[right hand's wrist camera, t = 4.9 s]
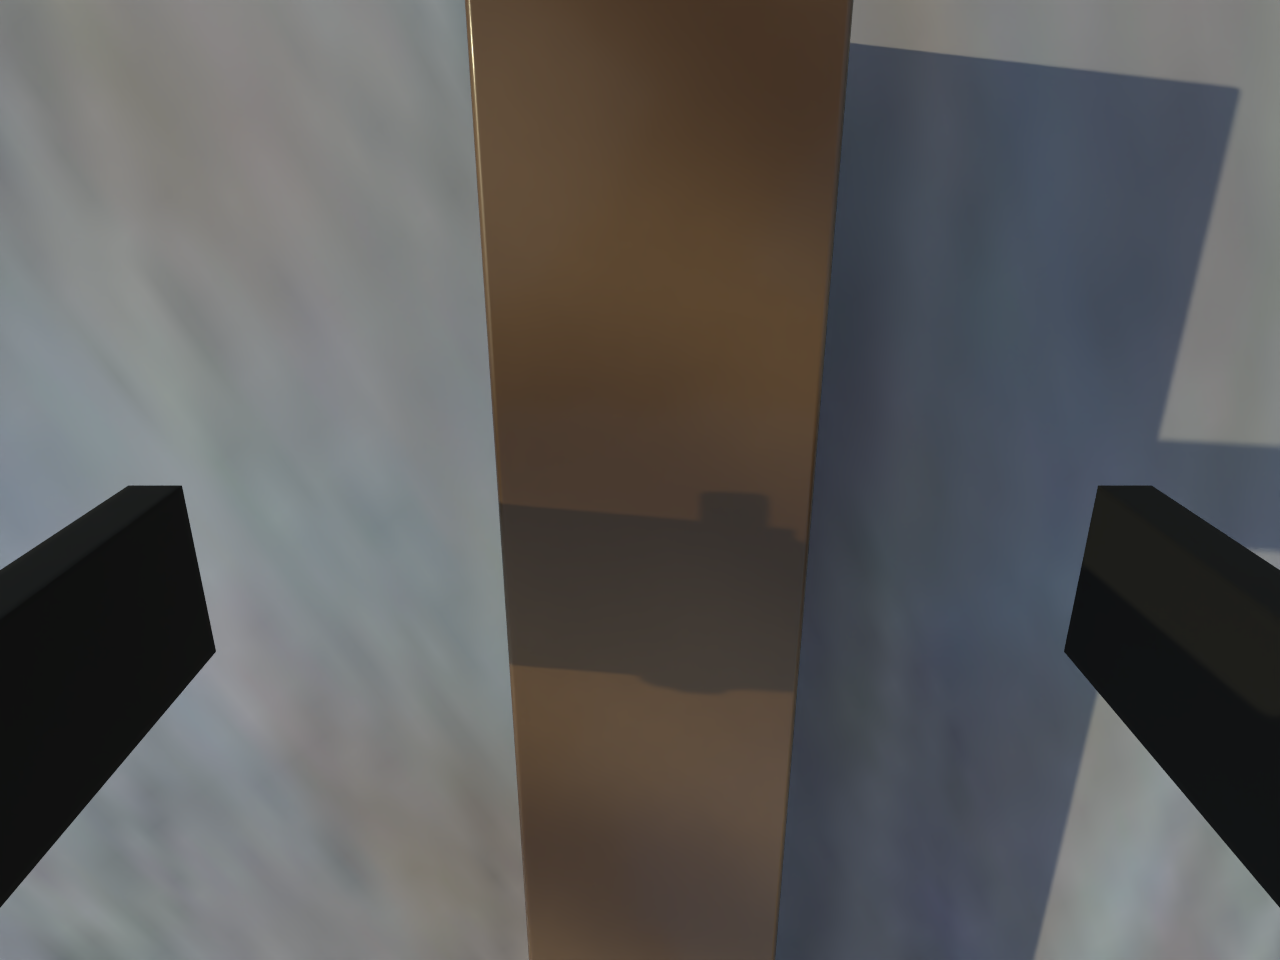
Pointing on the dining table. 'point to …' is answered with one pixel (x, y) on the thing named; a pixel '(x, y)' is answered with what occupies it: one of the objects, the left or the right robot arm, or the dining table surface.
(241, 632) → the dining table surface
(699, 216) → the beam
